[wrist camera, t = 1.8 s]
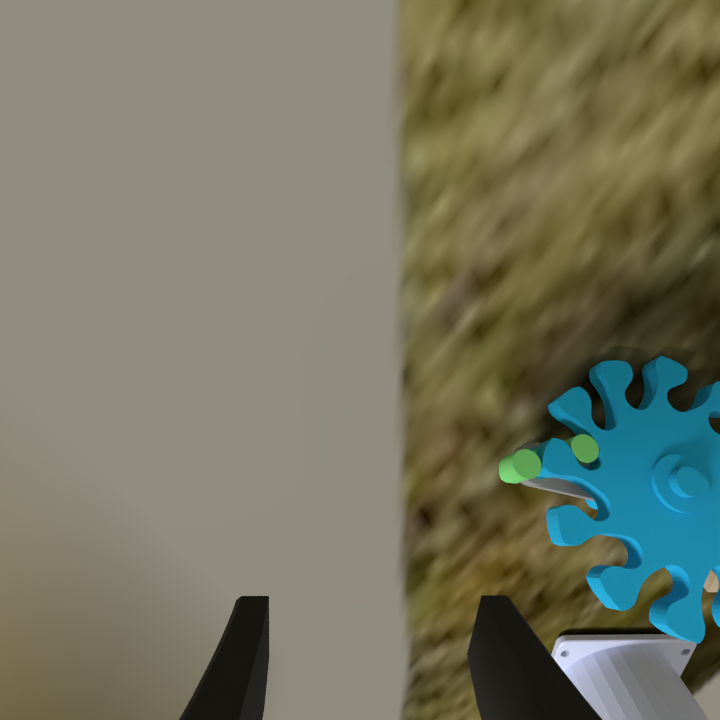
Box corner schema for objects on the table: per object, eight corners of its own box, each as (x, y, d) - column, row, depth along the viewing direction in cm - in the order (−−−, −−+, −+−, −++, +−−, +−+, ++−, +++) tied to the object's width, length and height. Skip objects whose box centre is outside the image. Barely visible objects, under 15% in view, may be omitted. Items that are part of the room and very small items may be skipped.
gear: (805, 380, 18) (858, 679, 14) (691, 419, 24) (707, 644, 20) (530, 316, 18) (509, 601, 14) (479, 370, 24) (454, 587, 20)
